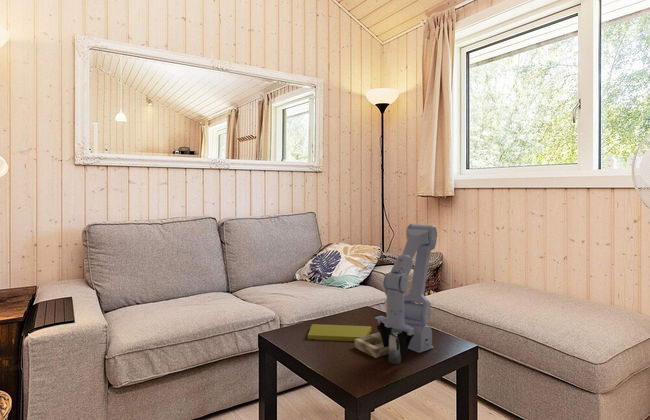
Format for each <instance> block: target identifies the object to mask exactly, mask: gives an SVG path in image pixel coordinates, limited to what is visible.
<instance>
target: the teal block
mask: <svg viewBox="0 0 650 420" xmlns="http://www.w3.org/2000/svg"><path fill="white" fill-rule="evenodd" d="M378 317H385V318H386V316H383V315H378V316H375V317H374V320H375V321H378ZM392 332H396V333H402V331H399V330H397V329H394V328H392V330H391V333H392Z"/></svg>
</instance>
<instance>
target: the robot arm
mask: <svg viewBox="0 0 650 420" xmlns="http://www.w3.org/2000/svg"><path fill="white" fill-rule="evenodd" d="M405 234H406V243H405V246H404V249H403V251H402V254H400V255H398V256H397V258H395V259H396V260H395V262H394V264H393V266H392V268H391V270H390V272H388V273H386V274H385V276H384V278H383V282H382V284H383V288H384V295H385V296H386V308H385V309H386V313H385V314H386V316H384V317H378V316H377V317H378V320H377V324H378V325H377V326H376V329H377V330H378V332H380V335H381V337H382V341H383V345H384V347H388V346H389V333H391V330H392V328H394V329H397V330H399V331H402V333H399V334H397V336H398V339H399V344H400V355H401V356H404V355H406V354H407V352H408V350H411V351H413V352H416V353H419V354H420V353H423V352H426V351H428V350H431V349H434V346H433V330H432V328H431V326H429V325H428V324H427V323H428V322H429V320H430V318H431V302H430V300H429V299H428V298H427V297H426V296H425V291H426V283H427V277H428V270H429V263H430V258H431V253H432V251H433V250H435V249H436V246H437V240H438V230H437V227H436V225H434V224H431V225H428V224H414V223H409V224H408V225H407V228H406V232H405ZM415 255H416V256H415ZM414 257H415V260H413V258H414ZM413 266H414V269H413V273H412V278H411V279H412V280H411V287H410V291H409V293H407V294H406V295H405V291H406V290H407V288H408V287H409V286H408V285H409V280H410V279H409V278H410V276H409V274H410V273H411V270H412V268H413ZM385 317H386V318H385Z"/></svg>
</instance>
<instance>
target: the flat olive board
mask: <svg viewBox="0 0 650 420" xmlns="http://www.w3.org/2000/svg"><path fill="white" fill-rule="evenodd" d="M371 331H372V326H370V325H368V326H367V325H347V324H346V325H343V324H342V325H341V324H320V323H319V324H317V323H314V324H313V323H312V324H311V326H310V329H309V332H308V333H307V340H311V339H314V340H316V341H336V342H338V341H340V342H341V341H342V342H355V339H357V338H361V337H364V336H368V335H371V334H370V333H371ZM314 340H313V341H314Z"/></svg>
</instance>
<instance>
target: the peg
mask: <svg viewBox="0 0 650 420" xmlns="http://www.w3.org/2000/svg"><path fill="white" fill-rule="evenodd" d="M397 334H399V333H396V332H392V333H389V354H388V362H389V363H390V364H394V365H398V364H399V365H400V364H401V363H402V355H400V344H399V339H398V336H397Z"/></svg>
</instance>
